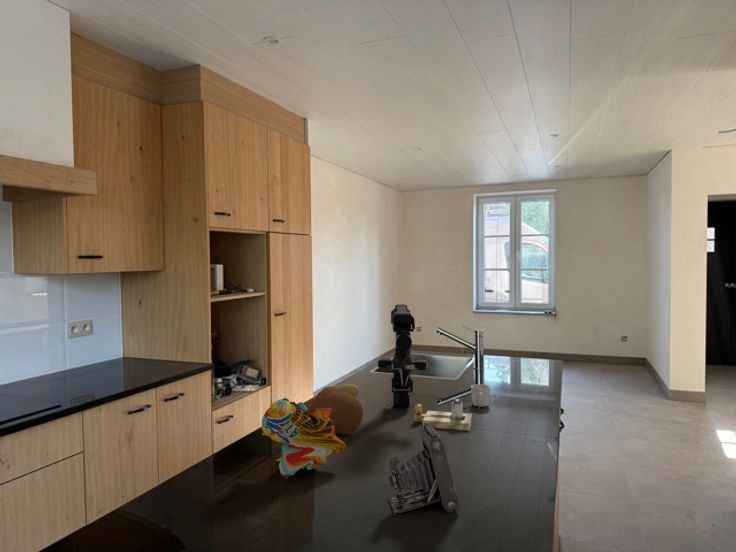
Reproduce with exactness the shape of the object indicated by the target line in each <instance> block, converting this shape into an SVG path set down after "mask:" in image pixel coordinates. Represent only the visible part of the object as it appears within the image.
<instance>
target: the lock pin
mask: <svg viewBox="0 0 736 552" xmlns="http://www.w3.org/2000/svg"><path fill="white" fill-rule="evenodd" d="M414 408H415V409H414V412H415V413H414V416H413V417H414V419H413V420H414V421H413V422H415V423H423V418H424V417H431V414H426V413H423V405H422V404H421V403H417V404H416V403H415V404H414Z"/></svg>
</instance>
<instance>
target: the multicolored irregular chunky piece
mask: <svg viewBox="0 0 736 552" xmlns="http://www.w3.org/2000/svg"><path fill="white" fill-rule="evenodd" d="M308 409H309V408H307V406H306V405H305V403H303V402H302V401H299V402H297V403H296V402H295V401H290V400H289V399H288V398H286V397H284V398H281V399H277V400H274V402H273V403H271V404H270V405H269V407H268V408H267V409H266V411H265V412H264V413H263V415H262V418H261V430H262V432H263V433H262V434H261V436H267V437H269V438H270V439H271V440H274V441H275V442H278V443H281V444H282V446H281V457H279V458H278V459H277V460H276V462H279V463H278V467H279V471H280V475H281V474H283V475H292V476H293V475H295V474H296V473H297V472H298V471H299V470H301V469H303V470H305V468H306V469H307V471H310V470H312V469H316V468H315V467H317V468H321V467H322V466H323V465H326V463H327V457H328V456H333V455H338V454H341V453H343V452H344V451H345V450H346V448H347V445H346V443H345V442H344V441H343V440H342V439H340V438H339V437H337V435H336V433H335V429H334V426H333V422H332V420H331V419H330V416H331V414H332V412H333V409H332V408H321V409H313V410H308Z"/></svg>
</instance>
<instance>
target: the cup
mask: <svg viewBox="0 0 736 552" xmlns="http://www.w3.org/2000/svg"><path fill="white" fill-rule="evenodd" d="M470 393H471V403H472V404H473V406H476V407H478V406H479V407H480V408H481V407H482V408H485V407H488V405H489V402H490V396H491V395H490V393H491V387H490V386H489V385H487V384H480V383H478V384H476V383H475V384H472V385H471V386H470Z"/></svg>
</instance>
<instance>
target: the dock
mask: <svg viewBox="0 0 736 552" xmlns="http://www.w3.org/2000/svg"><path fill="white" fill-rule="evenodd" d="M425 414H431V417H424V418H423V422H422V427H423V426H424V423H429V425H431V426H432V427H433V428H434V429H444V430H445V429H446V430H457V431H458V430H459V431H470V430H471V427H472V423H473V413H464V412H463V420H452V411H451V412H449V411H436V410H427V411H426V413H425Z"/></svg>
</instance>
